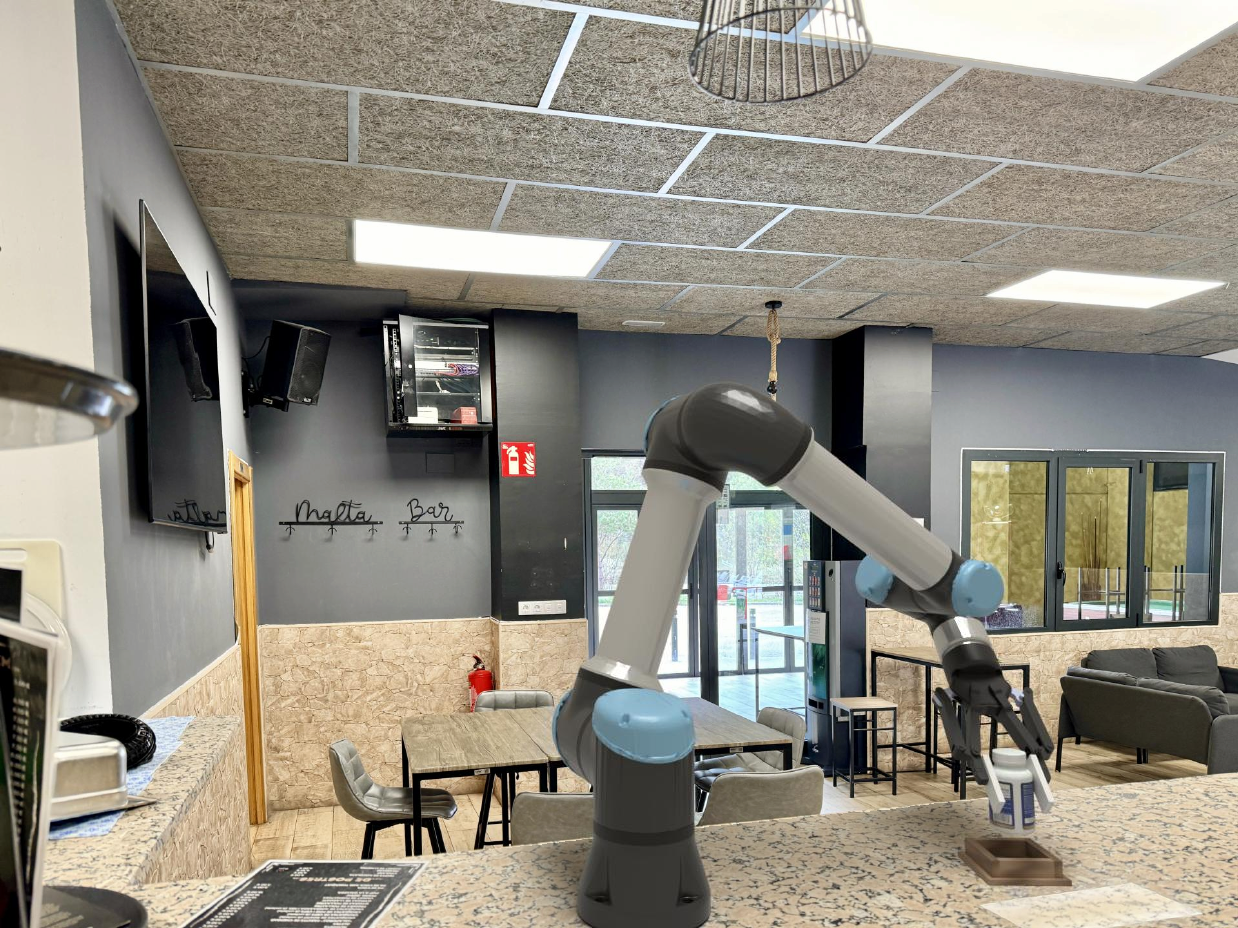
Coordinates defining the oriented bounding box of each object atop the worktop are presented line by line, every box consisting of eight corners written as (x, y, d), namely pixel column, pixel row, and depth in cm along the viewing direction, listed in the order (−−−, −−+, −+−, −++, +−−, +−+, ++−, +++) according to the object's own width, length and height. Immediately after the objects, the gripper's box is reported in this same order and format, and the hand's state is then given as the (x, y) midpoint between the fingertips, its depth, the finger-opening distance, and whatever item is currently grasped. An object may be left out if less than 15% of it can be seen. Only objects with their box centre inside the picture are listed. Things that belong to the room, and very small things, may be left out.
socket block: (988, 884, 103) (987, 862, 104) (958, 855, 113) (957, 835, 114) (1072, 885, 103) (1070, 863, 103) (1033, 856, 113) (1032, 836, 113)
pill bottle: (1026, 823, 111) (1022, 746, 112) (1042, 836, 106) (1038, 756, 107) (983, 822, 112) (980, 745, 113) (997, 835, 106) (994, 755, 107)
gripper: (1023, 672, 126) (1088, 823, 108) (898, 672, 126) (942, 822, 108) (1038, 639, 121) (1109, 791, 103) (908, 640, 121) (956, 791, 103)
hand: (1024, 807), depth 106 cm, fingers closed on pill bottle, 5 cm apart
